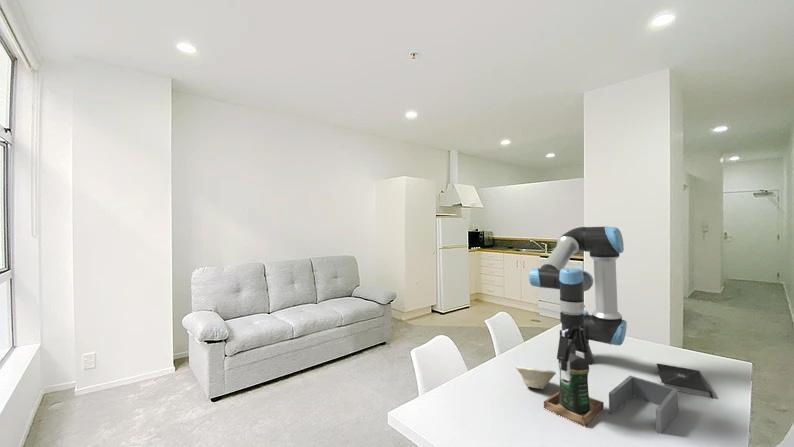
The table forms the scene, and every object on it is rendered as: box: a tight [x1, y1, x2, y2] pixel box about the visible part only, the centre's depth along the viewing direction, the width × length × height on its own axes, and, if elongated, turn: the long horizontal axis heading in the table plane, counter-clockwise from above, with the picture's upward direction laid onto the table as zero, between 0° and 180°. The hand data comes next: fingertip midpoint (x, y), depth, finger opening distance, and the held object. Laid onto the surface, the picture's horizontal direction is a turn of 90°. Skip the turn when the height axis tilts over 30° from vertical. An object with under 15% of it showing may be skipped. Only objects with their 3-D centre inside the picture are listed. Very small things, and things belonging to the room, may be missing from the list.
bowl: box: [515, 365, 557, 390], centre depth 133 cm, size 15×14×10 cm
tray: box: [543, 391, 605, 427], centre depth 117 cm, size 14×16×3 cm
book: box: [656, 363, 714, 399], centre depth 136 cm, size 22×15×3 cm
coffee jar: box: [557, 352, 590, 414], centre depth 117 cm, size 10×8×19 cm
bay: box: [608, 375, 679, 434], centre depth 115 cm, size 14×21×7 cm
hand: (573, 374), depth 117 cm, fingers open, 11 cm apart
